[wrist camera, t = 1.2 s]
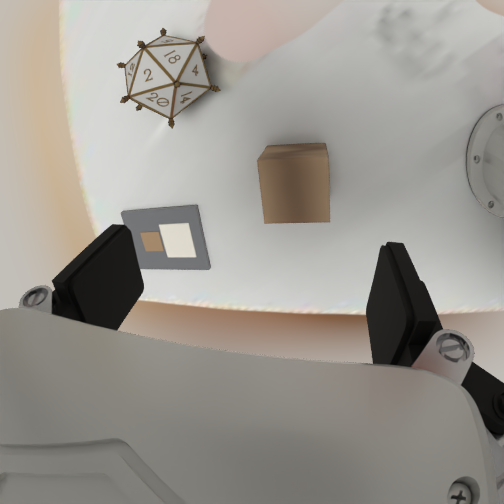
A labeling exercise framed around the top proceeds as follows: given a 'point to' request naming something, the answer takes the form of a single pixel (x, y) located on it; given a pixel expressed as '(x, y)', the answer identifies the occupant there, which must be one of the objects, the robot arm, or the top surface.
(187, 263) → the card
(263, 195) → the walnut block
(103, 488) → the robot arm
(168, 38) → the game die
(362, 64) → the top surface
